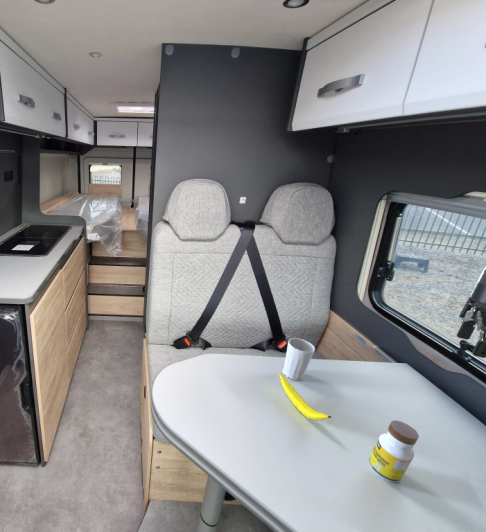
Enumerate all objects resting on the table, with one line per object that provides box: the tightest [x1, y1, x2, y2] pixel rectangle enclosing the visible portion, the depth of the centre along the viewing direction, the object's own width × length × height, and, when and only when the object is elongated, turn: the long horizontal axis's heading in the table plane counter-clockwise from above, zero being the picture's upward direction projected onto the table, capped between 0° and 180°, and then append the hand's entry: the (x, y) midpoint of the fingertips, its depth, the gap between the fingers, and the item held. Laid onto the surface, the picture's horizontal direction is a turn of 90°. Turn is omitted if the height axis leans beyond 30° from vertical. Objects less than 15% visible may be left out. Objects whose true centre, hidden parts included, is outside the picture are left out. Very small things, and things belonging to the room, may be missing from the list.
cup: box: [282, 337, 316, 381], centre depth 104 cm, size 8×8×12 cm
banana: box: [279, 372, 332, 421], centre depth 91 cm, size 3×19×6 cm, turn 15°
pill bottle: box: [368, 430, 415, 483], centre depth 73 cm, size 6×6×12 cm
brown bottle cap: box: [387, 420, 420, 446], centre depth 70 cm, size 5×5×2 cm
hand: (469, 346), depth 73 cm, fingers open, 8 cm apart
